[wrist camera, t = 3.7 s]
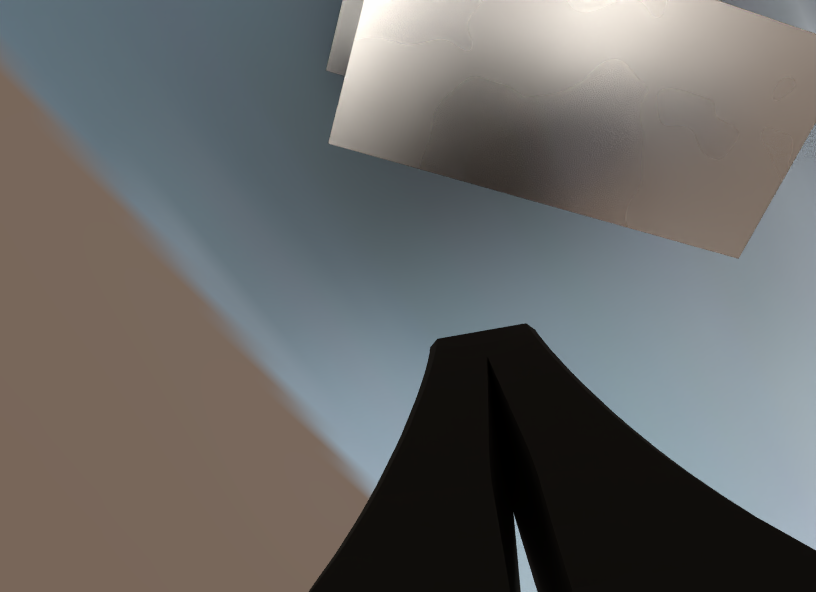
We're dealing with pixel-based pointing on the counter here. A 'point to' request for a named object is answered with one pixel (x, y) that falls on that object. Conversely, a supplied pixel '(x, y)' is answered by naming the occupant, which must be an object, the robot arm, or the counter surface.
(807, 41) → the block
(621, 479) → the robot arm
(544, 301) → the counter surface
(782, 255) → the counter surface
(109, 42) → the counter surface
